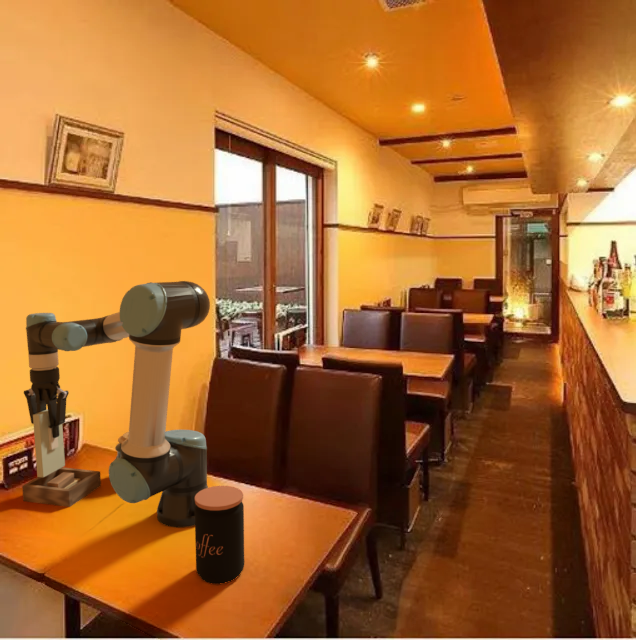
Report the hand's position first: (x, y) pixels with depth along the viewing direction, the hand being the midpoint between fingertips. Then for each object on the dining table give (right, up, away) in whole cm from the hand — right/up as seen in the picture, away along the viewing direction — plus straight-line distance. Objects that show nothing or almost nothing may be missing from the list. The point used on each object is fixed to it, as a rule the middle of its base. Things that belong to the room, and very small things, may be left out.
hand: (49, 447), depth 159 cm
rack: (+3, -15, +1) cm, 15 cm away
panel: (0, -7, +1) cm, 7 cm away
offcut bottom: (+3, -13, +1) cm, 14 cm away
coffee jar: (+55, -20, -35) cm, 68 cm away
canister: (+22, -14, +13) cm, 29 cm away
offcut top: (+3, -11, 0) cm, 12 cm away
